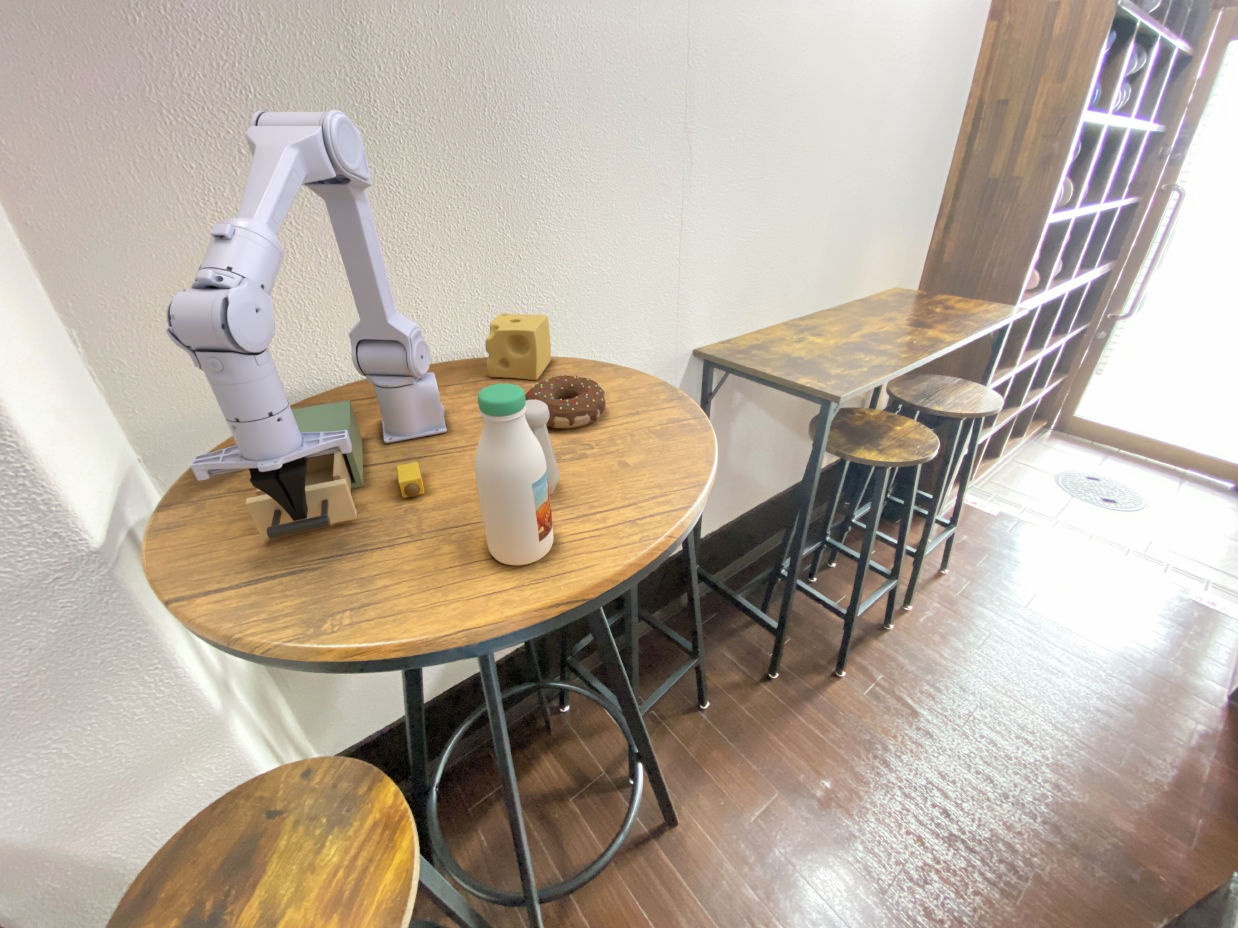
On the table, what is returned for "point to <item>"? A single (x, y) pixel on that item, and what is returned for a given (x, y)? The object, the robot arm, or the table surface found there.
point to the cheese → (518, 346)
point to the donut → (569, 400)
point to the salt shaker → (543, 437)
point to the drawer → (309, 500)
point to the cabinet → (335, 420)
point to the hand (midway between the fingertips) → (300, 514)
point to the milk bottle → (512, 479)
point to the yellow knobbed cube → (410, 480)
